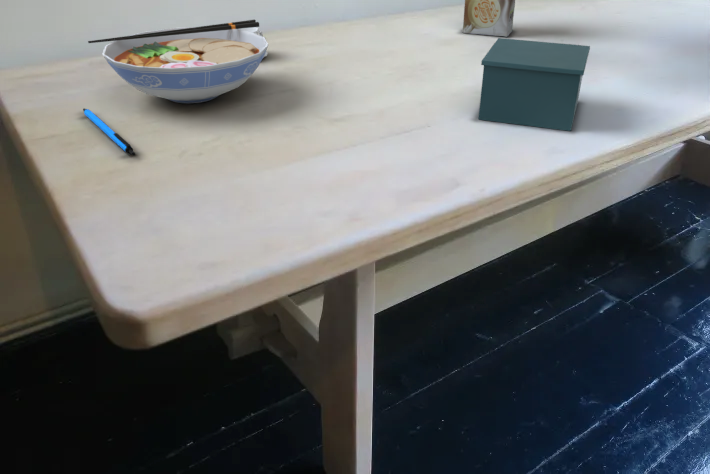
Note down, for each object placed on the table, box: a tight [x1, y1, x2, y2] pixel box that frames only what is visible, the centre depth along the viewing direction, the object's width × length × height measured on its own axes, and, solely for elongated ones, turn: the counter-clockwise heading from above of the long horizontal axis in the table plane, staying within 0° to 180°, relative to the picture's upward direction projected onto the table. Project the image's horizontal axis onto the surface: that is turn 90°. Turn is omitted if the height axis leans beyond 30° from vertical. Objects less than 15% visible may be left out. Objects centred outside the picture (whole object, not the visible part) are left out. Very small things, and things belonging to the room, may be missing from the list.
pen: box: [82, 108, 136, 156], centre depth 84 cm, size 1×19×1 cm, turn 37°
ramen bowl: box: [87, 19, 269, 105], centre depth 95 cm, size 25×23×8 cm
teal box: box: [478, 37, 591, 132], centre depth 90 cm, size 13×13×8 cm
